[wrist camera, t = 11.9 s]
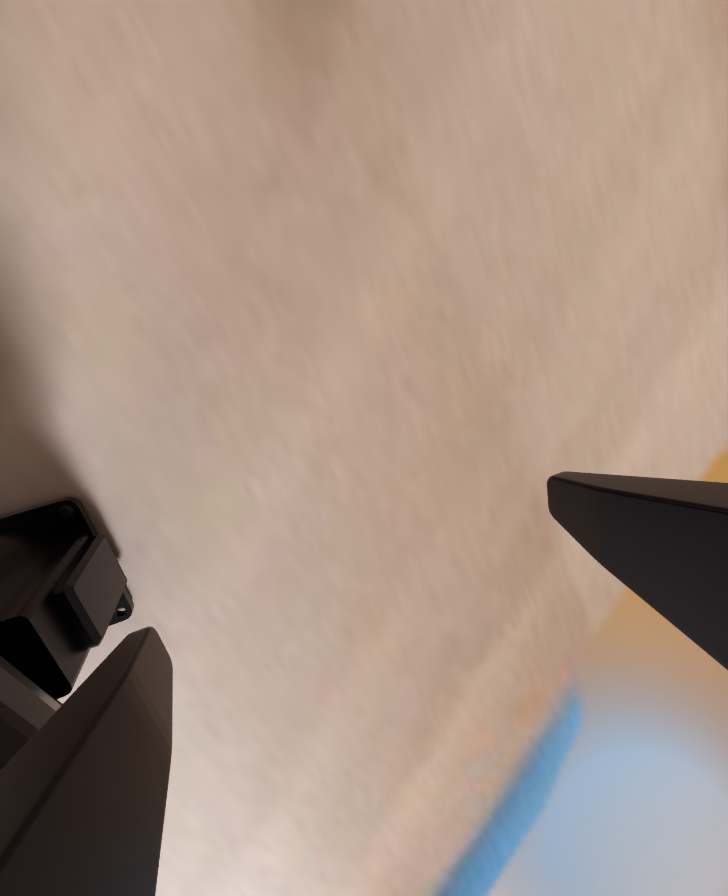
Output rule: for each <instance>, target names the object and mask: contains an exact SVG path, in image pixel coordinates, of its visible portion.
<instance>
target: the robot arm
mask: <svg viewBox="0 0 728 896" xmlns="http://www.w3.org/2000/svg"><path fill="white" fill-rule="evenodd" d="M547 493H548V507H549V511H550V513H551V515H552V516H553V518H554V519H555V520H556V521H557V522H558V523H559V524H560V525H561V526H562V527H563V528H564V529H565V530H566V531H567V532H568V533H569V534H570V535H571V536H572V537H573V538H574V539H575V540H576V541H577V542H578V543H579V544H580V545H581V546H582V547H583V548H584V549H585V550H586V551H587V552H588V553H589V554H590V555H591V556H592V557H593V558H594V559H596V560H597V561H598V562H599V563H600V564H601V565H602V566H603V567H604V568H606V569H607V570H608V571H609V572H610V573H611V574H613V575H614V576H615V577H616V578H617V579H619V580H620V581H621V582H622V583H623V584H625V585H626V586H627V587H628V588H629V589H631V590H632V591H633V592H634V593H636V594H637V595H638V596H639V597H641V598H642V599H643V600H644V601H645V602H646V603H648V604H649V605H650V606H651V607H652V608H654V609H655V610H656V611H657V612H658V613H660V614H661V615H662V616H663V617H665V618H666V619H667V620H668V621H669V622H670V623H672V624H673V625H674V626H675V627H677V628H678V629H679V630H680V631H681V632H683V633H684V634H685V635H686V636H687V637H688V638H690V639H691V640H692V641H693V642H695V643H696V644H697V645H698V646H699V647H700V648H702V649H703V650H704V651H706V652H707V653H708V654H709V655H710V656H711V657H713V658H714V659H715V660H716V661H717V662H719V663H720V664H721V665H722V666H723V667H725V668H726V669H727V670H728V483H719V482H706V481H692V480H678V479H664V478H650V477H636V476H622V475H608V474H594V473H580V472H561V473H558V474H555V475H553V476H550V477H549V478H548V481H547ZM63 506H70V507H71V508H72V509H73V512H72V513H68V512H65V511H64V510H63ZM126 583H127V579H126V577H125V575H124V573H123V571H122V569H121V567H120V565H119V563H118V561H117V559H116V557H115V555H114V553H113V551H112V549H111V547H110V545H109V543H108V541H107V539H106V538H105V537H103V536H101V535H99V534H98V533H97V531H96V529H95V527H94V526H93V524H92V522H91V520H90V518H89V516H88V514H87V512H86V510H85V508H84V506H83V504H82V503H81V502H80V500H78V499H77V498H75V497H63V498H60V499H56V500H53V501H50V502H46V503H43V504H39V505H36V506H32V507H29V508H26V509H22V510H19V511H15V512H12V513H9V514H5V515H2V516H0V896H155V892H156V884H157V875H158V867H159V858H160V850H161V841H162V833H163V824H164V816H165V807H166V799H167V790H168V781H169V773H170V764H171V753H172V690H173V668H172V662H171V658H170V656H169V654H168V652H167V650H166V648H165V646H164V644H163V642H162V640H161V639H160V637H159V635H158V633H157V631H156V630H155V629H154V628H153V627H150V626H149V627H146V628H143V629H141V630H138V631H135V632H133V633H130V634H129V635H127V636H126V637H125V638H124V639H123V641H122V642H121V643H120V644H119V645H118V646H117V647H116V648H115V649H114V650H113V651H112V652H111V653H110V654H109V655H108V657H107V658H106V659H105V660H104V661H103V662H102V663H101V664H100V665H99V666H98V667H97V668H96V669H95V670H94V671H93V673H92V674H91V675H90V676H89V677H88V678H87V679H86V680H85V681H84V682H83V683H82V684H81V685H80V686H79V687H78V689H77V690H76V691H75V692H74V693H73V694H72V695H71V696H70V697H69V698H68V699H67V700H66V701H65V702H64V703H63V704H62V703H60V702H59V701H58V700H57V699H59V698H61V697H64V696H66V695H68V694H69V693H70V692H71V690H72V688H73V686H74V684H75V682H76V679H77V677H78V675H79V673H80V670H81V668H82V666H83V664H84V662H85V659H86V657H87V655H88V653H89V650H90V649H91V648H94V647H97V646H99V644H100V643H101V641H102V639H103V637H104V635H105V633H106V630H107V628H108V626H110V625H113V624H116V623H118V622H121V621H124V620H126V619H128V618H129V617H130V616H131V614H132V611H133V608H134V603H133V601H132V599H131V597H130V595H129V593H128V591H127V589H126V588H125V585H126ZM120 607H122V608H125V609H126V610H125V611H118V610H117V608H120Z"/></svg>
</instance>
